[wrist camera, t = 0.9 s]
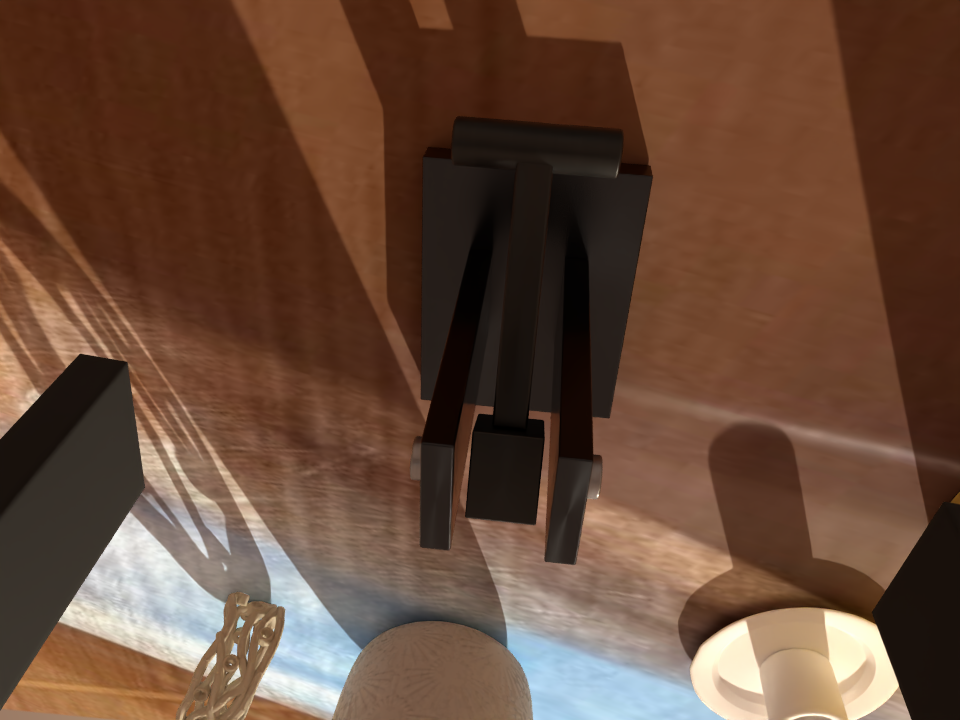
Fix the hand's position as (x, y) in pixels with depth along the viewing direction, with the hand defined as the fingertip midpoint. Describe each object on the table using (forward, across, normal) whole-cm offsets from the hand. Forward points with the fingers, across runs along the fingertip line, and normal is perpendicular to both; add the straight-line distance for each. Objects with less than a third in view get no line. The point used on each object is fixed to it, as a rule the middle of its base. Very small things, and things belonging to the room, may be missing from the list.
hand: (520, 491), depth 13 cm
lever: (+13, 0, -4) cm, 13 cm away
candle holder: (+22, +20, -30) cm, 42 cm away
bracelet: (+22, -12, -34) cm, 42 cm away
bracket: (+22, 0, -8) cm, 23 cm away
